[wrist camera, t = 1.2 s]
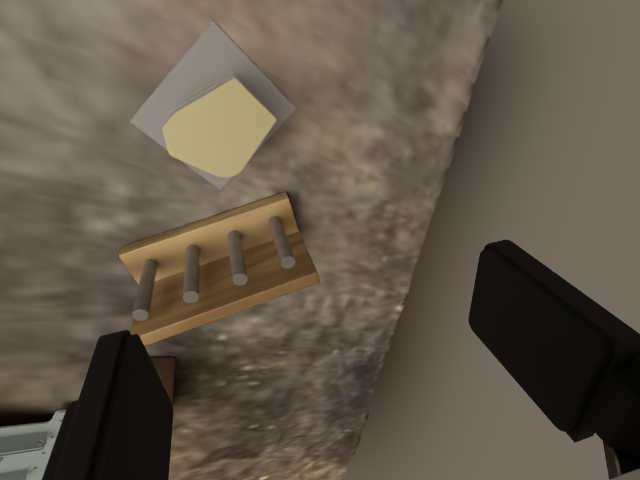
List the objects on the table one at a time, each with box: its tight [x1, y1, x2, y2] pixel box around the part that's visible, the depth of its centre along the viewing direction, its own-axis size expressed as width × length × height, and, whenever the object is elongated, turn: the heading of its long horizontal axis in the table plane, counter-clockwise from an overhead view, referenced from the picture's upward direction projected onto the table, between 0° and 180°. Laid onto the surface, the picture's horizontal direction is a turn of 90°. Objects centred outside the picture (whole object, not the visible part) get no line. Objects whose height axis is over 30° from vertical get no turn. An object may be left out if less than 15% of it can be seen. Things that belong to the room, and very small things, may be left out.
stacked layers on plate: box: [129, 21, 297, 190], centre depth 28 cm, size 10×9×6 cm
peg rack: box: [119, 192, 320, 346], centre depth 33 cm, size 5×16×8 cm, turn 103°
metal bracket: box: [0, 409, 67, 480], centre depth 41 cm, size 14×6×15 cm
